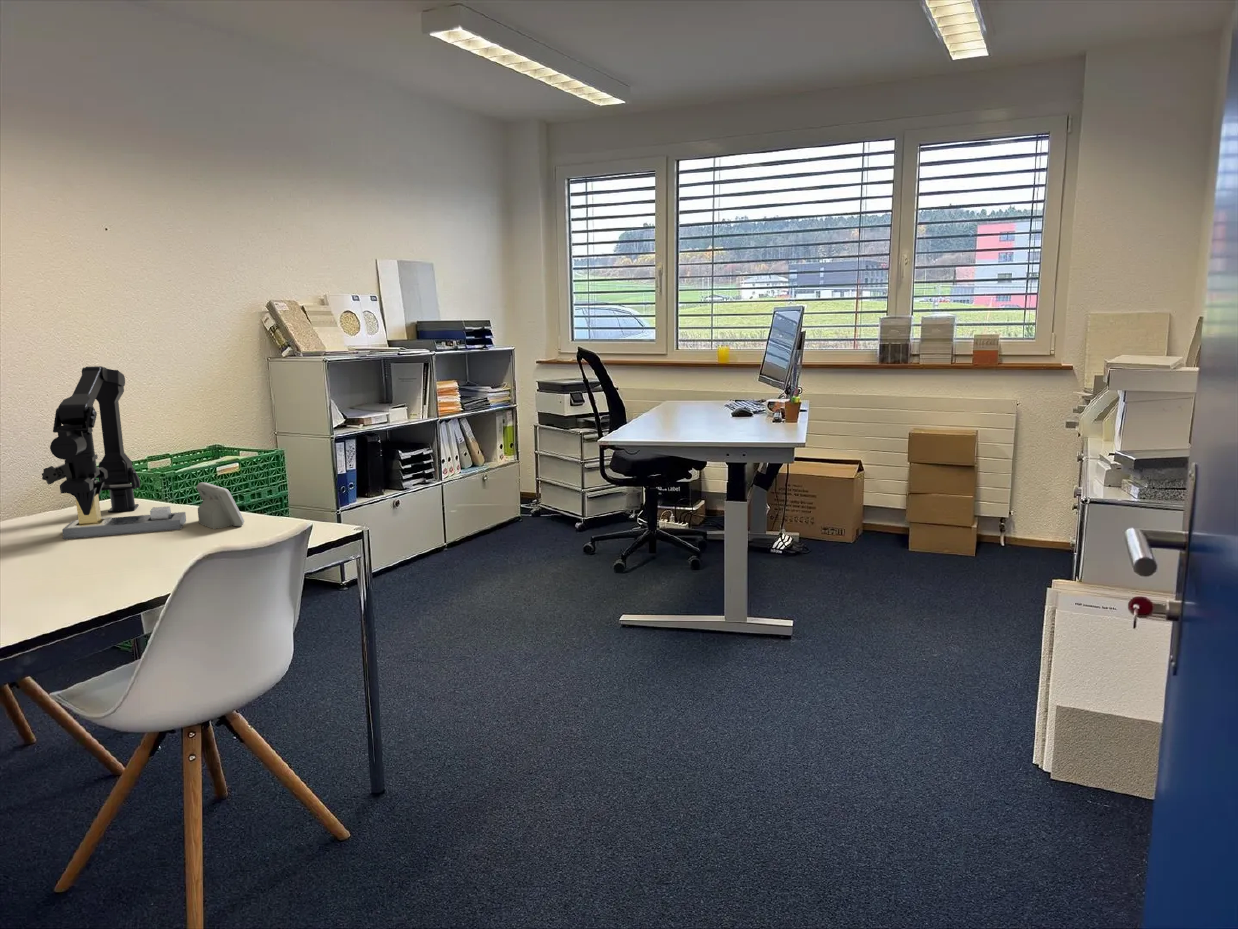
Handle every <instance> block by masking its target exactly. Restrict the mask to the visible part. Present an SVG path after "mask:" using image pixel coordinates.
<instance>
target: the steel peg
mask: <svg viewBox="0 0 1238 929" xmlns="http://www.w3.org/2000/svg"><path fill="white" fill-rule="evenodd" d="M171 513H172V511H171V506H170V505H169V506H168V505H167V506H158V507H157V506H156V507H152V508H150V511H149V515H150V516H151V521H154V520H166V519H172V518H171Z"/></svg>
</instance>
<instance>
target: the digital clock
mask: <svg viewBox="0 0 1238 929" xmlns="http://www.w3.org/2000/svg"><path fill="white" fill-rule="evenodd" d="M196 490H197V492H198V493H199V495H200V498H201V500H202V502H201V505H199V506H198V507H197V514H198V515H197V517H198V523H199V525H202V526H205V527H207V528H209V529H212V528H213V529H212V530H217V529H216V528H218V529H223V528H228V527H231V526H232V525H233V526H234V527H242V526H244V523H245V519H244V516H243V514H242V513H241V511H240V509H239V507H238V505H237V504H236V501H235V498H234V497H233V495H232V494H231V492H230V491H229V489H227V488H225V487H221V486H219V485H215V484H212V483H209V482H203V481H202V482H198V484H197V485H196ZM227 526H228V527H227ZM233 526H232V527H233Z"/></svg>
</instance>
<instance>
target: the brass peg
mask: <svg viewBox="0 0 1238 929" xmlns="http://www.w3.org/2000/svg"><path fill="white" fill-rule="evenodd" d="M99 497H100V495H99V496H98V494H95V496H94V500H93V503H92V507H91V511H90V514H89V515H84V514H83V512H82V510H81V507H80V505H79V503H78V501H77V499H76V498H75V504H76V511H77V512H76V513H77V518H78V519H77V520H79V525H90V524H100V523H101V522H102V519H101V518H102V512H101V506H100V498H99Z"/></svg>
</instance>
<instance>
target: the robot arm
mask: <svg viewBox="0 0 1238 929" xmlns="http://www.w3.org/2000/svg"><path fill="white" fill-rule="evenodd" d="M125 386H126V378H125V374H124V373H122V372H120V371H119V370H118V369H111V368H107V367H105V366H100V365H99V366H98V365H97V366H96V365H95V366H85V367H82V369H81V376H80V378H79V380H78V382H77V385H76V386H75V389H74V391H73V393H72V395H71V396H68V397H66V398H64V399H63V400H62V401H61V403H60V404H59V405H58V407H57V408H56V409H55V414H54V415H55V416H54V422H53V428H52V432H53V433H54V434H55V433H56V434H57V436H56V437H55V438H54V439H53V440H52V441H51V442H50V445H49V450H50V453H51V454H52V455H53V456H54V457H56V458H57V459H60V460H64V463H63V464H61V465H58V466H55V467H54V466H52V465H50V466H48V467H45V468H43V472H42V473H41V476H42V478H41V479H42V481H46V483H47V485H48V486H49V485H52V484H54V483H55V482H58V481H60V480H62V479H65V480H64V481H63V482H61V483H60V485H59V491H60V494H69V495H71V496H73V497H74V498H75V500H76V499H77V501H78V503H79V505H80V507H81V510H82V512H83V514H84V515H89V514H90V511H91V507H92V503H93V500H94V496H95V494H98V496H99V497H100V495H101V491H102V492H103V491H109V497H110V504H111V506H110V508H109V509H108V510H107V513H116V512H119V513H120V512H130V511H132V512H133V511H135V510H136V509H137V508H138V507H139V504H138V503H135V501H136V500H135V494H134V490H135V489H138V488H141V480H140V477H139V475H138V473H137V471H136V470H135V467H133V461H132V460H131V458H130V457H129V456H128V455H127V454H126V453H125V449H124V439H123V430H122V423H121V414H120V412H121V411H120V405H119V402H120V400H121V398H122V396H123V394H124V392H125ZM96 401H97V403H98V407H99V415H100V422H101V423H100V426H101V434H102V442H103V443H102V444H103V449H104V450H103V451H104V455H103V457H102V459H101V461H99V462H98V467H97V459H99V458H98V454H96V452H95V451H96V450H95V444H94V437H93V432H94V429H93V428H95V426H96V420H97V415H98V413H97V411H96V409H95V407H94V403H95V402H96Z"/></svg>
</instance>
